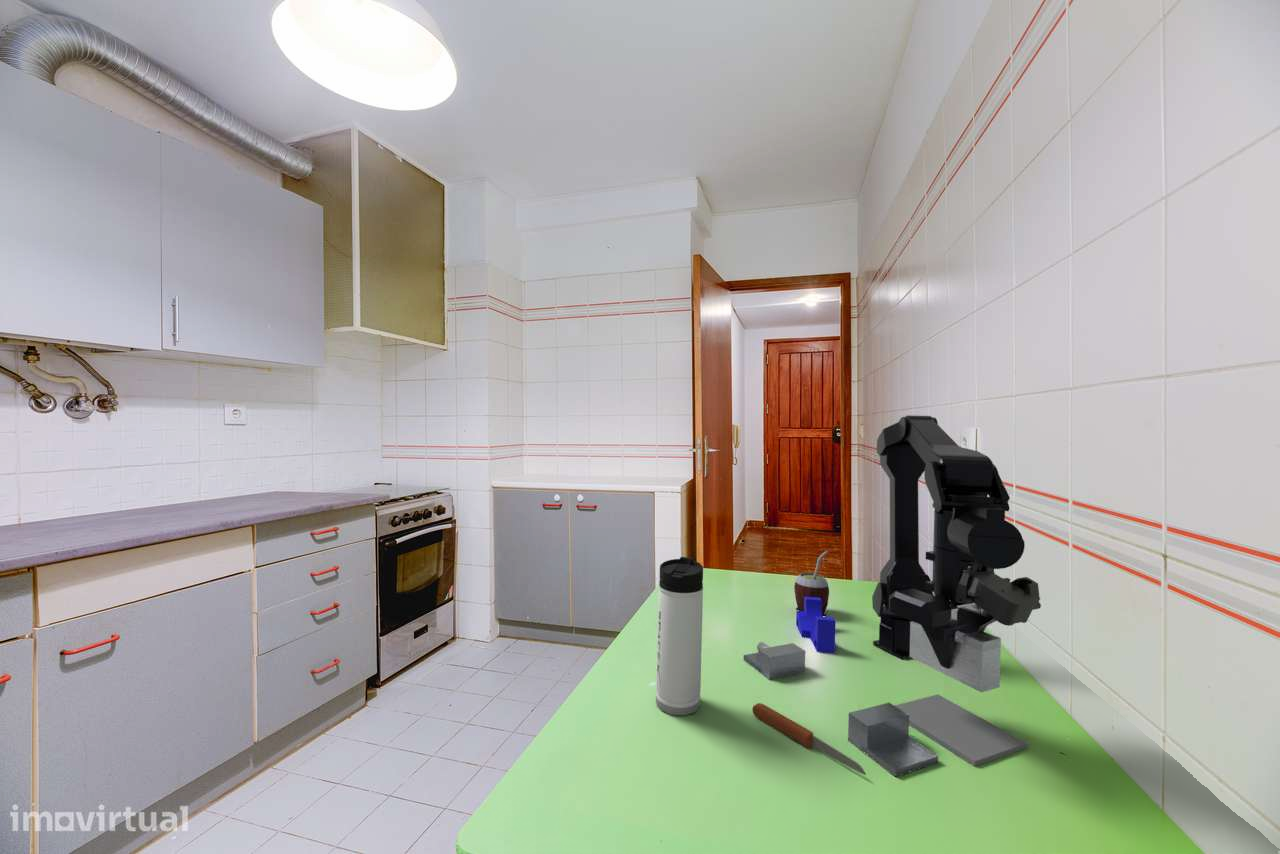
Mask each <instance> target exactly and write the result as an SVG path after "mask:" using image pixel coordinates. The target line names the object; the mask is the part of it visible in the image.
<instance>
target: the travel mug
mask: <svg viewBox="0 0 1280 854" xmlns="http://www.w3.org/2000/svg"><path fill="white" fill-rule="evenodd" d="M659 565H660V566H659V582H658V583H659V584H658V603H657V604H658V608H657V613H658V614H657V644H656V645H657V646H656V647H657V650H656V652H657V653H656V684H655V685H656V686H655V687H656V691H655V703H656V705H657V707H658V708H659V709H660V710H661V711H662V712H664V713H667V714H668V715H669V714H670V715H673V716H688V715H690V714H694V713H695V712H697V710H699V708H700V706H701V684H702V683H701V682H702V681H701V680H702V679H701V678H702V647H703V645H702V644H703V643H702V642H703V641H702V638H703V607H704V606H703V604H704V600H703V599H704V592H703V591H704V582H703V580H704V566H703V565H702V563H700V562H699V561H696V560H694V559H693V557H687V556H680V557H679V558H674V559H668V560H665V561H663V562H662V563H661V564H659Z"/></svg>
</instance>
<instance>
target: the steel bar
mask: <svg viewBox="0 0 1280 854" xmlns="http://www.w3.org/2000/svg"><path fill="white" fill-rule="evenodd" d="M1001 646H1002V639H1001V637H998V636H996V635H994V634H991V633H988V632H985V631H984V632H983V631H978V632H974V633H969V634H965V633H962V632H960V631H956V633H955V641H954V649H953V657H952V662H951V667H950V668H949V669H947V668H945V667H942V666H941V665H940V663H939V661H938V658H937V656H936V654H935V652H934V650H933V648H932V646H931V644H930V641H929V639H928V637H927V635H926V633H925V631H924V630H923V628H922V626H921V625H920V624H918V623H915V622H913V621H911V622H910V657H909V658H911V659H914V660H915V661H917V662H919V663H921V664H924V665H925V666H927V667H929V668H931V669H933V670H935V671H937V672H939V673H941V674H944V675H946V676H948V677H950V678H952V679H953V680H955V681H957V682H960V683H962V684H964V685H965V686H967V687H970V688H972V689H973V690H976V691H978V692H980V693H985V692H988V691H991V690H995V689H999V688H1000V685H1001V683H1000V682H1001V650H1002V649H1001V648H1002V647H1001Z"/></svg>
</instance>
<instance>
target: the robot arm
mask: <svg viewBox="0 0 1280 854" xmlns="http://www.w3.org/2000/svg"><path fill="white" fill-rule="evenodd" d="M876 439H877V441H876V453H877V455H878V456H879V461H880V462H879V465H880V466H881V468H882V470H884V473H885V474H886V477H888V479H889V559H888V561H887V562H886V563H885V565H884V566H883V567H882V569H881V570H880V573H879V582H877V584H876V587H875V589H874V591H873V594H872V597H871V598H872V599H871V600H872V601H871V603H872V609H873V611H874V612H875V614H876V615H877V616H878V617H879V618H880V623H879V626H878V629H879V630H878V634H879V635H878V639H877V640H873V641H872V644H873V645H874V646H876V647H878V648H880V649H882V650H884V651H886V652H888V653H890V654H892V655H894V656H896V657H898V658H899V659H903V660H904V659H909V658H911V657H910V622H911V621H913V622H915V623H918V624H920V625H921V626H922V628H923V630H924V631H925V633H926V635H927V637H928V639H929V641H930V644H931V646H932V648H933V650H934V652H935V654H936V656H937V658H938V661H939V663H940V665H941V666H942V667H945V668H947V669H949V668H950V667H951V662H952V657H953V649H954V641H955V633H956V631H960V632H962V633H965V634H969V633H974V632H978V631H983V632H985V630H986V629H987V627H988V626H989V625H992V624H993V623H995V622H998V623H1000V624H1001V625H1004V626H1008V627H1010V626H1013V625H1015V624H1019V623H1023V624H1025V623H1027V621H1028V620H1029V618H1030V616H1031V614H1032V612H1033V611H1035V610H1038V609H1041V608H1042V604H1041V602H1040V600H1041V597H1040V590H1039V589H1040V588H1039V584H1038V582H1036V581H1035V580H1033V579H1031V578H1029V577H1027V576H1024V577H1023V576H1022V577H1019V578H1018V577H1017V578H1016V579H1014V580H1012V581H1011V579H1010V578H1008V577H1004V578H1003V577H1001V576H1000V575H998V574H996V573H995V570H1001V569H1002V570H1003V569H1007V568H1009V567H1012V566H1014V564H1016V563H1018V562H1019V560H1020V559H1021V558H1022V557H1023V554H1024V551H1025V547H1026V545H1025V540H1024V539H1023V536H1022V533H1021V532H1020V530H1019V528H1018V527H1017V526H1015V525H1014V524H1013V523H1011V522H1010V521H1008V520H1006V512H1010V504H1009V500H1010V499H1011V498H1010V496H1009V493H1008V490H1007V488H1006V486H1005V484H1004V482H1003V480H1002V478H1001V476H1000V474H999V470H998V467H997V466H996V465H995V464H994V462H993V460H992V459H991V458H990V457H989V456H988V455H985V454H984V453H982V452H980V451H978V450H975V449H969V448H967V447H966V448H965V447H962V446H960V445H958V443H956V441H954V440H953V438H952V437H951V436H950V435H948V433H947V432H946V431H944V429H943V428H942V427H941V426H940V425H939V423H938V420H937V418H936V417H935V416H934V417H933V416H931V415H913V414H912V415H910V414H907V415H905V416H902V417H900V419H899V421H897V422H895V423H893V424H891V425H889V426H887V427H885V428H883V429H882V431H881V432H880V434H879V435H878V436H877V438H876ZM923 474H924V482H925V486H926V487H927V489H928V493H929V495H930V497H931V499H932V502H933V503H932V508H933V509H934V512H933V544H932V545H933V547H932V549H933V550H930V551H925V560H927V561H931V562H932V579H931V578H930V576H929V575H928V574H927V573H926V572H925V570H924V569H923V567H922V566H921V564H920V556H919V555H920V547H919V546H920V544H919V543H920V539H919V536H920V535H919V534H920V533H919V532H920V531H919V530H920V528H919V527H920V526H919V525H920V524H919V522H920V521H919V520H920V519H919V479H920V478H921V477H922V476H923Z"/></svg>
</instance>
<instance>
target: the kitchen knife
mask: <svg viewBox="0 0 1280 854" xmlns="http://www.w3.org/2000/svg"><path fill="white" fill-rule="evenodd" d="M752 713H753V715H754V716H755V718H757V719H758V720H759V721H760V722H761V723H764V724H765V725H767V726H769V727H771V728H772V727H773V728H772V729H775V730H776V731H778V732H781V733H782V734H784V735H786V736H788V737H789V738H792V739H793V740H795V741H796V742H798V743H800V745H802V746H803V747H805V748H806V749H808V750H812V749H813V748H814V749H815V750H818V751H820V753H823V754H825V755H827V756H829V757H830V758H832V759H834V760H835V761H837V762H839V763H840V764H843V765H845V766H847V767H849V768H850V769H852V770H854V771H856V772H858V773H860V774H862V775H865V776H866V775H867V774H866V772H865V770H864V769H863V767H862V766H861V765H860V764H859V763H858V762H857V761H855V760H854V759H852V758H851V757H848V755H846V754H844V753H842V752H841V751H839V750H838V749H836V748H834V747H832V745H829V744H828V743H826V742H825V741H823V740H822V739H821V738H818V737H817V736H815V735H814V732H813V731H811V730H810V729H807V728H806V727H804V726H803V725H801V724H800V723H798V722H796V721H794V720H792V719H791V718H789V717H787V716H785V715H783V714H781V713H780V712H778V711H776V710H774V709H772V708H771V707H769V706H768V705H765V704H763V703H761V702H757V703H756V704H754V705H753V706H752Z"/></svg>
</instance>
